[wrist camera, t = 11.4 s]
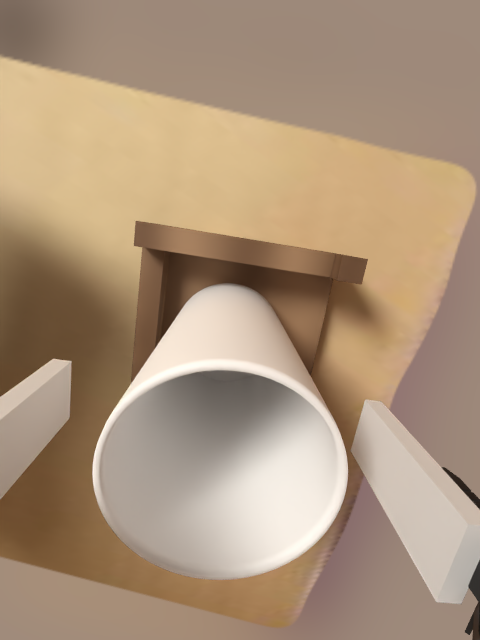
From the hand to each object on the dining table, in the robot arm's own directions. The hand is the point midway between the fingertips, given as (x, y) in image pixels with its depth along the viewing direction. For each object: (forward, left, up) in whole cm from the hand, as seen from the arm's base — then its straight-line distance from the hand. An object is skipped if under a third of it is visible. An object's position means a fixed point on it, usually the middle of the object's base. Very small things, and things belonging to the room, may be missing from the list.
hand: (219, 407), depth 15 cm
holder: (0, 0, -13) cm, 13 cm away
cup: (0, 0, -12) cm, 12 cm away
